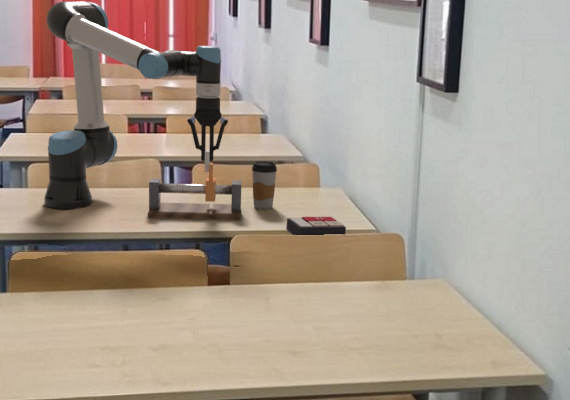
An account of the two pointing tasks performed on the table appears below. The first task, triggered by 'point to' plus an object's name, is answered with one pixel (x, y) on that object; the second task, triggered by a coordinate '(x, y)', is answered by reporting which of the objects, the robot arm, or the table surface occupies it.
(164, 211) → the base board
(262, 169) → the coffee cup
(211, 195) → the orange slotted block
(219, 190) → the pipe
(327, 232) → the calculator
